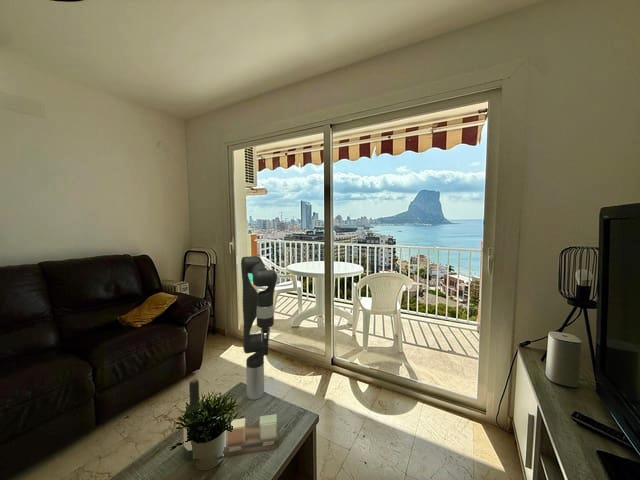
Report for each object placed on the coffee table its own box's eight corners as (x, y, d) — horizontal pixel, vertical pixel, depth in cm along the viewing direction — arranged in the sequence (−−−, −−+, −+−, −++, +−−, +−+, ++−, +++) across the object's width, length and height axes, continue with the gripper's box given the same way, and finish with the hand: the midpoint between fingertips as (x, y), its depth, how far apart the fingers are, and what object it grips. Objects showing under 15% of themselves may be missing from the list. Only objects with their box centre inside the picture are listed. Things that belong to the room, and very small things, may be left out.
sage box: (260, 434, 108) (259, 416, 108) (276, 431, 109) (276, 414, 109) (259, 443, 103) (259, 424, 103) (276, 440, 105) (276, 422, 104)
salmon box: (228, 438, 106) (228, 420, 105) (245, 435, 107) (245, 418, 107) (226, 448, 101) (226, 429, 101) (244, 445, 102) (244, 426, 102)
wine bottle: (197, 462, 97) (196, 388, 95) (179, 458, 99) (177, 385, 97) (211, 444, 105) (209, 375, 103) (193, 441, 107) (192, 373, 105)
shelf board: (222, 433, 111) (222, 426, 110) (277, 425, 115) (277, 417, 115) (216, 459, 99) (216, 450, 98) (278, 448, 103) (278, 440, 103)
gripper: (274, 320, 105) (274, 357, 106) (273, 309, 119) (273, 342, 120) (255, 321, 104) (256, 359, 105) (257, 310, 118) (257, 343, 118)
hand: (265, 350), depth 112 cm, fingers open, 8 cm apart
